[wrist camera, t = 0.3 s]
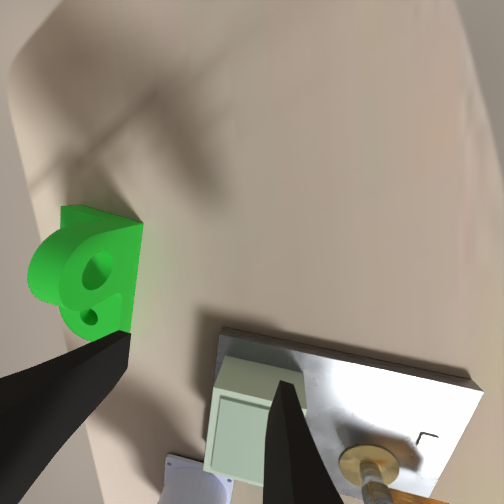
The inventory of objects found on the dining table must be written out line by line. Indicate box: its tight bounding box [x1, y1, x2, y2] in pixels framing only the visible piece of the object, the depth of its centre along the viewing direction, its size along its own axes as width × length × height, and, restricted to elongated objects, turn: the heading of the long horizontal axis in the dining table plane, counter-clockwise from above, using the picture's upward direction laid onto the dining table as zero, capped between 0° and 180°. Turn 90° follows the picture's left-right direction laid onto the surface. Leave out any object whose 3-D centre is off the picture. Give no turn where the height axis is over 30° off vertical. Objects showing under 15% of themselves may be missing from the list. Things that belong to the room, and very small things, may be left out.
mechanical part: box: [27, 205, 143, 342], centre depth 18 cm, size 12×6×8 cm, turn 165°
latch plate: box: [204, 327, 484, 500], centre depth 22 cm, size 15×22×1 cm
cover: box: [203, 356, 307, 487], centre depth 20 cm, size 9×7×4 cm
